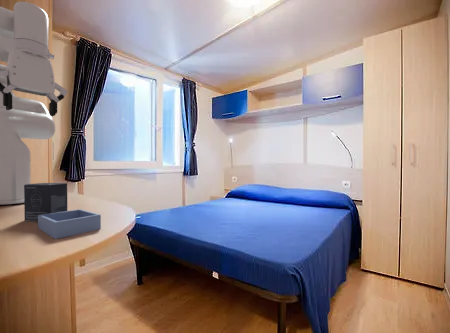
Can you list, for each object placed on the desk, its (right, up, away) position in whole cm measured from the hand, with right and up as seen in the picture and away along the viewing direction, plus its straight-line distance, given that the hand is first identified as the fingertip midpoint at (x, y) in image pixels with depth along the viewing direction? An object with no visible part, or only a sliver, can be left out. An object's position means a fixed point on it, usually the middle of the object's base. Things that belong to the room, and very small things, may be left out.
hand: (31, 112), depth 65 cm
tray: (+18, -30, -10) cm, 37 cm away
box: (+7, -31, -4) cm, 32 cm away
